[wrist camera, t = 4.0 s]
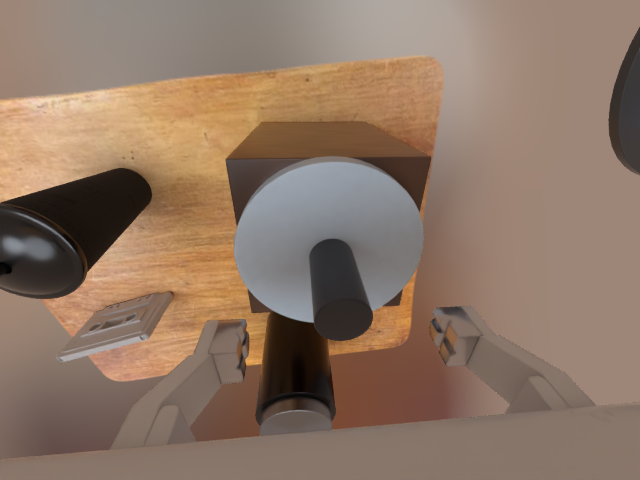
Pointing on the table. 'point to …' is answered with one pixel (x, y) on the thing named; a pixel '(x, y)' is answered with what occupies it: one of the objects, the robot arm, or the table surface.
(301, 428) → the thermos
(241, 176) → the riser
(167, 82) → the table surface
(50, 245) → the drinking cup
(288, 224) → the lid
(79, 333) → the cassette
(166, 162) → the table surface
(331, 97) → the table surface
